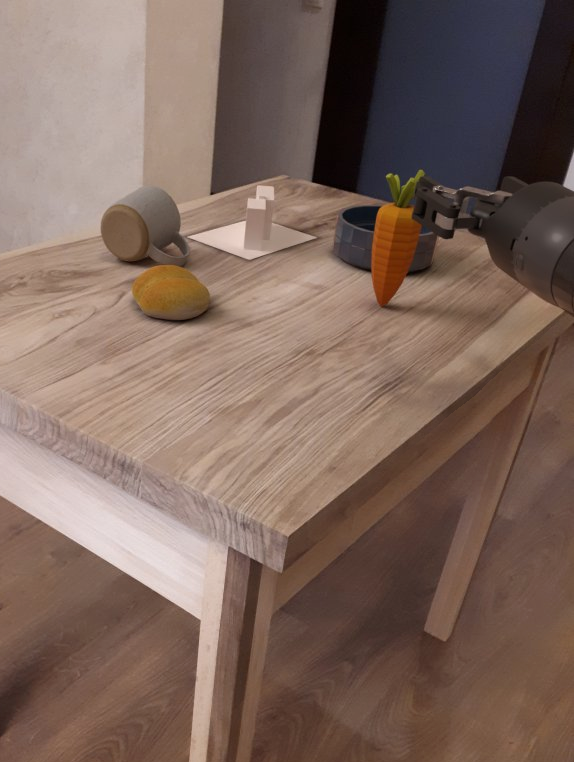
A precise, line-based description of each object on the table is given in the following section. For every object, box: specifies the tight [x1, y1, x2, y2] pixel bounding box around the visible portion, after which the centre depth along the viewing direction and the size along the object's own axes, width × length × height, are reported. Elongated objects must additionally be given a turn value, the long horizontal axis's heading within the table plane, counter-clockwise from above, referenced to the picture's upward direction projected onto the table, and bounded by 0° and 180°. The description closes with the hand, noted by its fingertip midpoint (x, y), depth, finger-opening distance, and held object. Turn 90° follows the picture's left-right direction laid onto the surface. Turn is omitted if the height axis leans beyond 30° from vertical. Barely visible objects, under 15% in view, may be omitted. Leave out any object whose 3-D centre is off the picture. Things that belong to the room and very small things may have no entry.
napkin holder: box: [187, 184, 318, 261], centre depth 108 cm, size 15×11×6 cm
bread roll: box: [131, 264, 211, 321], centre depth 87 cm, size 8×9×4 cm
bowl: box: [332, 204, 440, 274], centre depth 104 cm, size 13×13×5 cm
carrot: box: [371, 169, 426, 308], centre depth 87 cm, size 5×5×15 cm
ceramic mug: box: [100, 185, 191, 267], centre depth 98 cm, size 11×8×8 cm
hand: (462, 187), depth 74 cm, fingers open, 8 cm apart
